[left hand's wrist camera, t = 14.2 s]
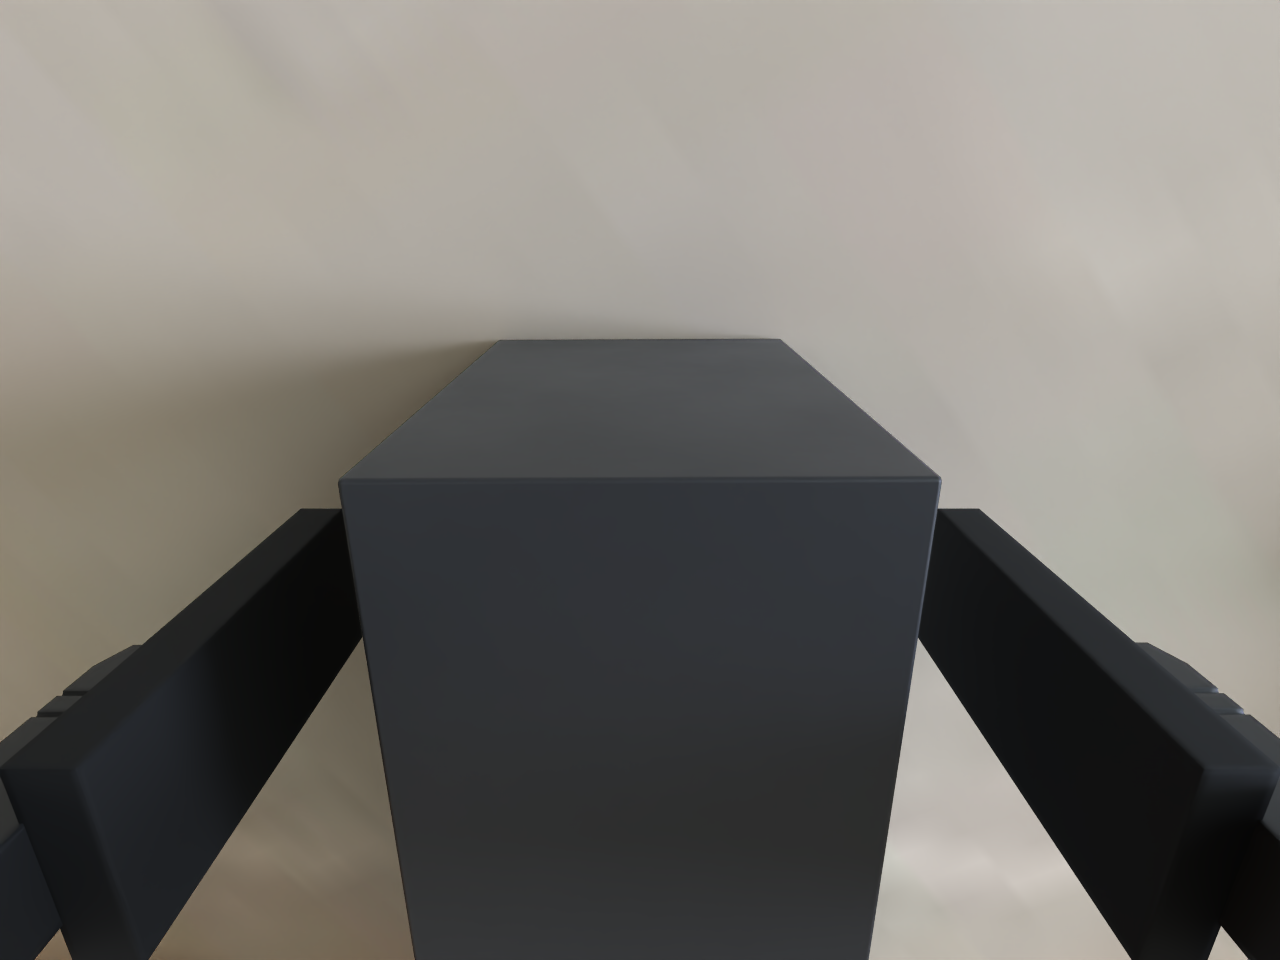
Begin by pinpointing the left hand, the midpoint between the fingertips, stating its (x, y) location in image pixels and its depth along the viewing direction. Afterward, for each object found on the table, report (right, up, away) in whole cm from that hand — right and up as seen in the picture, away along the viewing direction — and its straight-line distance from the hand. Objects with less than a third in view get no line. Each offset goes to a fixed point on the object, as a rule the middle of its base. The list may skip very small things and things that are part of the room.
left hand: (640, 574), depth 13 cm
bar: (0, -6, +6) cm, 9 cm away
